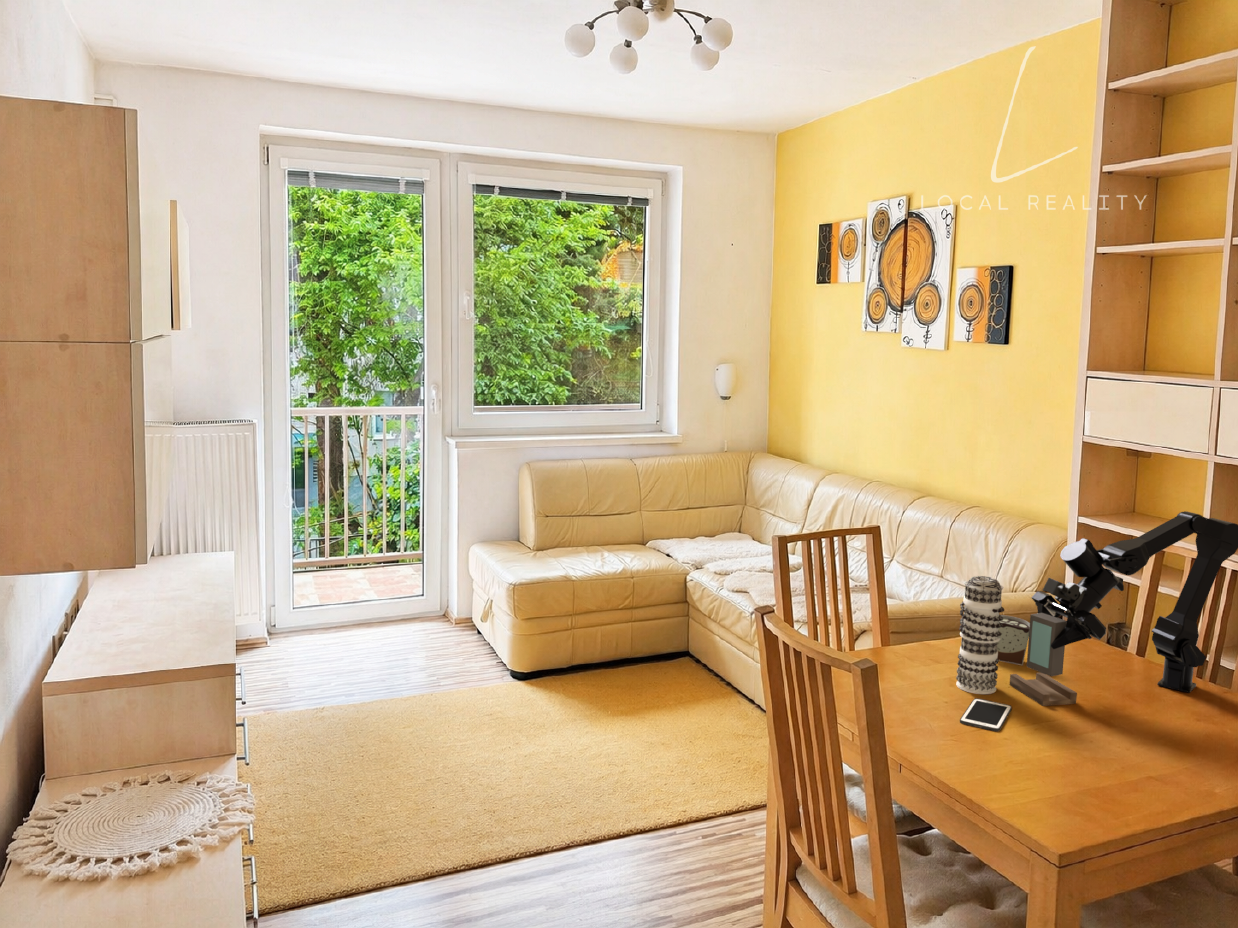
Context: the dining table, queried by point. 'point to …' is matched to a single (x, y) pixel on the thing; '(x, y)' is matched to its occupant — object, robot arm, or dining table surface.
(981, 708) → the cell phone
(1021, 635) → the food container
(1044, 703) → the tray
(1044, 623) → the grey rectangular box
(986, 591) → the decorative candle
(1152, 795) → the dining table surface
